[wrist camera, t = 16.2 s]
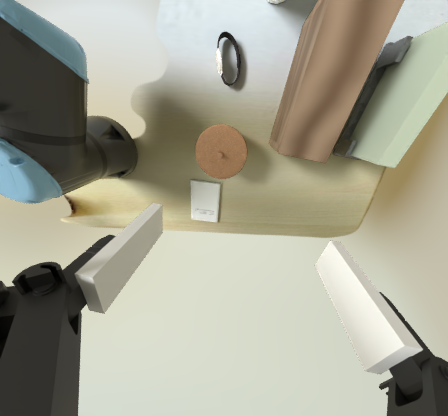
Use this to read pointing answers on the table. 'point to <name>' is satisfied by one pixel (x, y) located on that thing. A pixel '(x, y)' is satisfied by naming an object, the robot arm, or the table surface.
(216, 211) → the external hard drive
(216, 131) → the lidded jar
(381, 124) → the door panel
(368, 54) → the cabinet
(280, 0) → the white cup
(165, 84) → the table surface
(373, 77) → the clip rail
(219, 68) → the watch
